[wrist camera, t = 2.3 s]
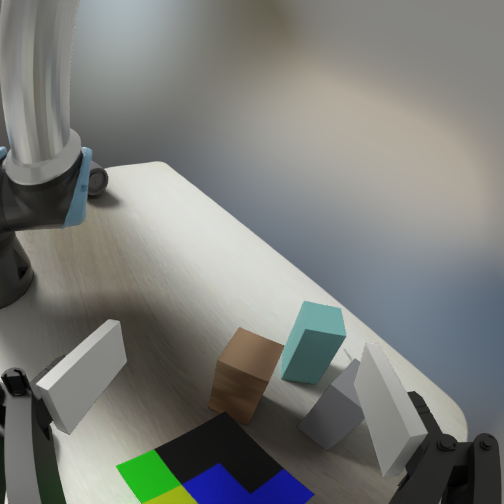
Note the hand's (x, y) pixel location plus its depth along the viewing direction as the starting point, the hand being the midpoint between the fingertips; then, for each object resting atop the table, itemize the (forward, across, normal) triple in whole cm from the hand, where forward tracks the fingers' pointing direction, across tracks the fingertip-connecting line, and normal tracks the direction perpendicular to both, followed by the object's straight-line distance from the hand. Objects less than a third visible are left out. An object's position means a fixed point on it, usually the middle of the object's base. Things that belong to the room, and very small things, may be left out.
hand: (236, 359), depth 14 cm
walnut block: (+14, -1, -16) cm, 21 cm away
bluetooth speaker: (+62, -58, +8) cm, 85 cm away
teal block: (+21, +6, -15) cm, 27 cm away
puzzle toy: (0, -3, -20) cm, 20 cm away
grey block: (+12, +10, -18) cm, 24 cm away
